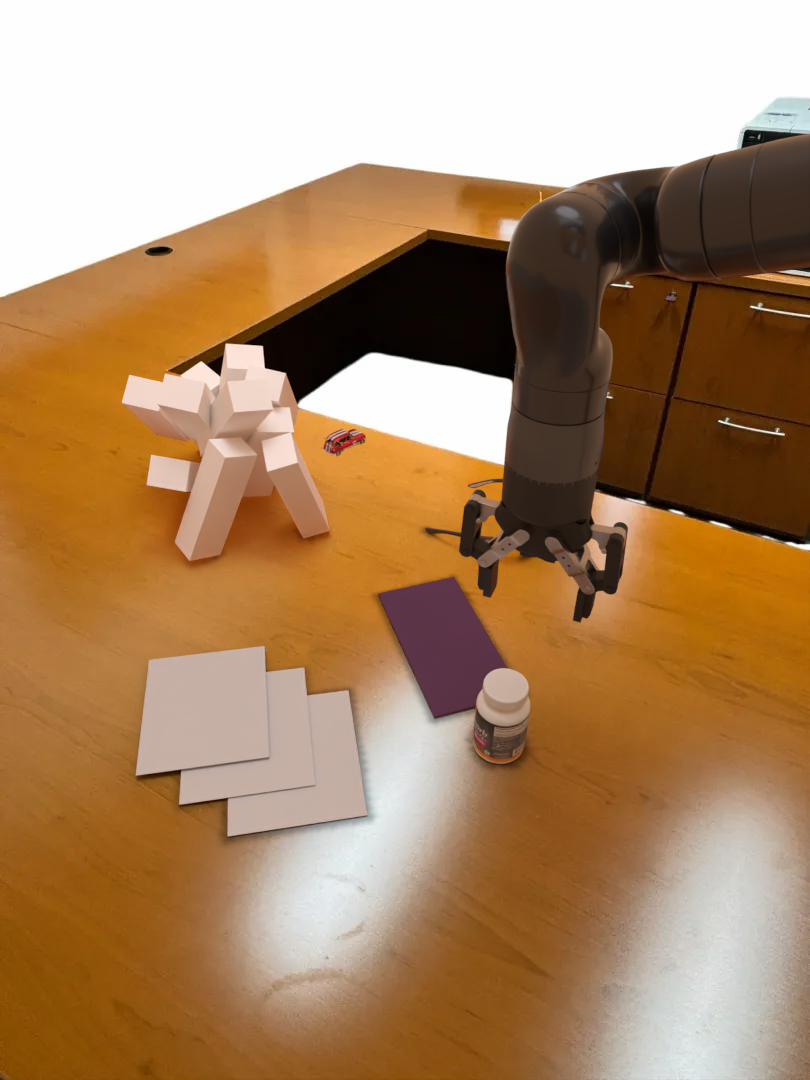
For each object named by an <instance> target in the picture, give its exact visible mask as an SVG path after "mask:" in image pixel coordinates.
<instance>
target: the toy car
mask: <svg viewBox="0 0 810 1080" xmlns="http://www.w3.org/2000/svg"><path fill="white" fill-rule="evenodd" d="M323 440H325V441H324V444H323V448H322V450H323V452H325V453H327V454H329V455H330V456H334V455H335V456H336V457H339V456H341V455H342V452H345V451H346V450H347V449H350V448H352V447H355V446H357V445H363V444H366V441H367V437H366V434H365V433H363V432H362V431H360V430H358V429H356V428H352V429H349V430H346V429H343V428H340V429H339V430H336V431H333V432H332V433H330V434H328V435H327V436H326V438H325V437H324V438H323Z"/></svg>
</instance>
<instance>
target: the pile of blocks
mask: <svg viewBox="0 0 810 1080" xmlns="http://www.w3.org/2000/svg"><path fill="white" fill-rule="evenodd" d="M224 345H225V346H224V352H223V359H222V364H221V372H220V375H219V374H218V373H216V372H215V371H214V370H213V369H211V368H210V367H209V366H208V365H207V364H206V363H204V362H203V361H199V362H197V364H195V365H193V366H192V367H190V368H189V369H187V370H186V371H185V372H183V373H182V374H180V376H178V375H174V374H170V373H164V377H163V379H162V381H158V380H154V379H150V378H145V377H141V376H136V375H133V374H132V375H131V374H129V375H128V378H127V382H126V386H125V390H124V393H123V397H122V400H121V404H122V405H123V406H124V407H125V408H126V409H128V410H129V412H130V413H132V414H133V415H134V416H135V417H136V418H138V419H139V420H140V421H141V423H143V424H144V425H145V426H146V427H147V428H148V429H149V430H151V431H152V432H153V433H154V434H155V435H156V436H159V437H164V438H169V439H172V440H177V441H182V442H186V443H189V442H190V440H193V442H194V445H196V446H197V448H198V450H199V455H200V457H202V458H201V461H200V462H195V461H191V460H184V459H179V458H173V457H167V456H161V455H155V454H150V460H149V467H148V471H147V472H148V473H147V478H146V479H147V480H146V486H148V487H149V486H150V487H155V488H162V489H168V490H173V491H179V492H184V493H189V492H190V494H189V497H188V500H187V503H186V506H185V509H184V512H183V515H182V518H181V521H180V524H179V528H178V531H177V534H176V536H175V539H174V544H175V545H176V546H177V547H178V549H179V550H180V551H181V552H182V553H183V555H184V556H185V557H186V559H187V560H188V561H189V562H192V561H197V560H201V559H207V558H212V557H218V556H221V555H222V552H223V549H224V546H225V543H226V541H227V538H228V536H229V533H230V530H231V528H232V525H233V522H234V520H235V517H236V514H237V512H238V508H239V506H240V503H241V501H242V499H243V498H246V497H247V498H248V497H249V498H251V497H271V496H272V493H273V490H274V489H276V491H277V493H278V495H279V496H280V498H281V500H282V502H283V504H284V506H285V508H286V509H287V511H288V512H289V515H290V517H291V519H292V521H293V522H294V524H295V526H296V528H297V530H298V531H299V534H300V535H301V537H302V539H306V538H310V537H313V536H317V535H320V534H323V533H327V532H330V530H331V529H330V526H329V521H328V517H327V513H326V508H325V504H324V501H323V499H322V497H321V495H320V492H319V490H318V488H317V486H316V484H315V482H314V479H313V476H312V475H311V473H310V470H309V468H308V466H307V463H306V462H305V459H304V457H303V455H302V453H301V451H300V449H299V447H298V444H297V442H296V440H295V438H294V434H295V425H296V421H297V418H298V414H299V410H300V409H299V406H298V402H297V400H296V398H295V395H294V392H293V389H292V386H291V384H290V380H289V378H288V376H287V373H286V372H282V371H278V370H275V369H269V368H266V367H265V365H266V364H265V356H264V346H263V345H252V344H241V343H240V344H239V343H236V344H235V343H225V344H224Z"/></svg>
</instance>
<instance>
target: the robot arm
mask: <svg viewBox="0 0 810 1080" xmlns="http://www.w3.org/2000/svg"><path fill="white" fill-rule="evenodd" d="M509 241H510V242H509V246H508V250H507V255H506V263H505V287H506V295H507V301H508V309H509V316H510V321H511V328H512V334H513V338H514V343H515V347H516V352H517V354H516V360H515V365H514V366H515V369H514V378H513V379H514V380H513V389H512V390H513V391H512V393H513V394H512V401H511V409H510V412H509V417H508V421H507V426H506V437H505V449H504V450H505V451H504V462H503V463H504V464H503V472H502V473H503V474H502V475H503V476H502V479H503V483H502V487H501V500H500V501H498V500H495V499H491V498H488V497H487V495H486V492H485V491H484V490H482V489H474V491H473V492H472V494H471V495H470V497H469V498H468V499H467V502H466V503H465V505H464V506H463V512H462V513H463V514H462V521H461V529H460V532H461V537H459V547H458V552H459V554H460V555H461V556H462V557H464V558H470V557H471V558H473V559H475V560H476V562H477V564H478V570H477V587H478V590H480V591H482V596H483V597H486V598H489V599H491V598H492V596H493V594H494V592H495V590H496V588H497V585H498V577H499V565H500V564H499V563H500V560H502V559H503V558H505V557H506V556H507V555H509V554H510V553H512V552H513V551H515V550H516V551H517V552H518V553H519V556H521V555H522V556H526V557H527V558H538V559H540V560H542V561H544V562H546V563H551V564H555V563H556V562H558V563H559V565H560V566H561V567H562V569H563V570H564V572H565V574H566V576H568V577H569V578H571V577H572V579H573V580H574V581H575V583H576V585H577V586H578V590H577V592H576V597H575V598H576V599H575V605H574V609H573V610H574V611H573V617H572V621H573V622H576V623H582V619H589V618H590V616H591V614H592V612H593V608H594V605H595V601H596V595H597V593H598V592H604V593H605V594H606V595H614V594H616V593H617V591H618V588H619V583H620V580H621V579H622V576H623V573H624V572H623V571H624V563H625V555H626V548H627V540H628V534H629V533H628V531H629V527H628V525H627V524H626V523H625V522H623V521H618V522H615V523H614V524H613V526H608V525H605V524H604V525H603V524H597V523H596V522H595V520H594V519H593V515H592V509H593V504H594V499H595V492H596V486H597V481H598V480H597V479H598V474H599V468H600V462H601V459H602V458H603V453H604V439H605V438H604V437H605V414H606V405H607V400H608V394H609V393H608V392H609V387H610V380H611V376H612V370H613V361H614V359H613V358H614V351H613V343H612V340H611V337H610V336H609V335H608V334H607V332H606V331H605V330H603V329H602V328H601V327H600V321H601V319H600V318H601V307H602V302H603V296H604V294H605V290H606V289H608V288H610V287H611V286H612V285H614V283H617V282H620V281H623V280H627V279H632V278H636V277H643V276H651V275H661V274H669V275H671V276H672V277H673V278H675V279H677V280H680V281H683V282H696V283H697V282H711V281H721V280H728V279H736V278H743V277H749V276H757V275H766V274H771V273H780V272H787V271H792V270H793V271H794V270H801V269H808V268H809V269H810V133H805V134H799V135H794V136H789V137H784V138H780V139H775V140H771V141H767V142H763V143H758V144H755V145H750V146H746V147H741V148H738V149H737V148H736V149H733V150H728V151H724V152H719V153H717V154H712V155H707V156H704V157H701V158H698V159H695V160H692V161H689V162H687V163H686V162H685V163H684V164H680V165H674V166H673V165H671V166H661V167H652V168H644V169H637V170H629V171H623V172H617V173H612V174H608V175H603V176H599V177H598V176H597V177H594V178H591V179H587V180H583V181H581V182H579V183H576V184H574V185H572V186H570V187H567V188H566V189H564V190H562V191H559V192H557V193H556V194H553V195H551V196H549V197H547V198H545V199H542V200H541V201H539V202H537V203H535V204H534V205H532V206H531V207H530V208H529V209H528V210H527V211H526V212H525V213H524V214H523V215H522V216H521V218H519V221H518V223H517V224H516V226H515V228H514V230H513V233H512V235H511V237H510V240H509ZM491 516H494V520H495V521H496V523H497V525H498V526H499V528H500V529H501V530H500V531H499V533H497V534H496V535H495V536H493V537H494V538H493V539H491V540H490V541H489V542H488V543H487V542H485V541H484V540H482V539H480V537H481V536H482V528H483V523H485V522H487V521H488V519H489V518H490V517H491ZM591 540H594V541H596V543H597V544H598V549H599V550H600V552H601V554H603V555H605V562H604V569H600V568H599V567H598V565H597V564H596V562H595V561H594V559H593V557H592V556H591V555H592V554H591V550H590V548H589V546H588V543H589V542H591ZM522 556H521V557H522ZM526 557H525V558H526Z"/></svg>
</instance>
